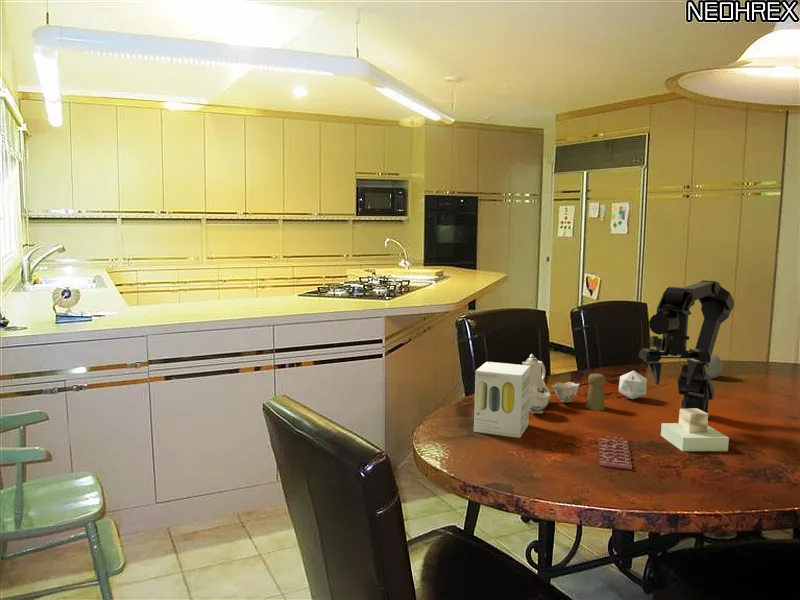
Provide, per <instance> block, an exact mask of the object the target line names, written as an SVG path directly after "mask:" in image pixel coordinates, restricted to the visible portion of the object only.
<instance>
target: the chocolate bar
mask: <svg viewBox="0 0 800 600" xmlns="http://www.w3.org/2000/svg"><path fill="white" fill-rule="evenodd" d="M598 444H599V445H598V446H599V447H598V448H599V467H601V468H602V467H603V468H609V469H610V468H611V469H616V470H617V469H618V470H625V471H626V470H627V471H628V470H629V471H633V465H632V461H631V460H632V459H631V452H630V447H629V446H630V445H629V441H628V440H624V438H623V437H620V438H619V439H618V437H614V439H611V437H610V436H606V438H603V437H599V438H598Z"/></svg>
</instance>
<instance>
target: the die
mask: <svg viewBox="0 0 800 600" xmlns="http://www.w3.org/2000/svg"><path fill="white" fill-rule="evenodd" d="M647 384H648V378H646V377H644V376H643V375H642V374H640V373H638V372H637V371H636V370H632V371H630V372H627V373H624V374H622V375H620V376H619V382H618V392H619V393H620V394H622V395H623V396H625V397H626V398H628V399H630V400H635V399H638V398H640V397H643V396H645V395H646V394H647Z"/></svg>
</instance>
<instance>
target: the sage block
mask: <svg viewBox="0 0 800 600" xmlns="http://www.w3.org/2000/svg"><path fill="white" fill-rule="evenodd" d="M678 425H679V422H678V423H677V422H673V423H671V422H669V423H668V422H667V423H666V422H665V423H663V422H661V427H660V428H661V429H660V430H661V431H660V437H662V438H664V439H665V440H666V441H667V442H669V444H672V446H674V447H676V448H677V449H678V450H680V451H682V452H728V451H729V444H730V443H729V441H730V437H728V436H727V435H725V434H724V433H722V432H720V431H718V430H716V429H715V428H713V427H711V426H710V425H709V424H707V432H698V433H689V432H687V431H685V430H683V429H682V428H680V427H678Z"/></svg>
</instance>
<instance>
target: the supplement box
mask: <svg viewBox="0 0 800 600" xmlns="http://www.w3.org/2000/svg"><path fill="white" fill-rule="evenodd" d="M530 371H531V366H528V365H523V364H517V363H516V364H515V363H506V362H494V361H486V362H484V363H483V364H482V365H481V366H479V367H478V368H477V369H475V377H474V378H475V379H474V385H475V386H474V406H473V407H474V412H473V416H474V418H473V432H474V433H475V432H476V433H481V434H488V435H496V436H503V437H511V438H517V439H520V438H521V437H522V436H523V434H524V432H525V431H526V429H527V428H528V427H529V425H530V424H529V420H530V419H529V414H530V412H529V394H530Z"/></svg>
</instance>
